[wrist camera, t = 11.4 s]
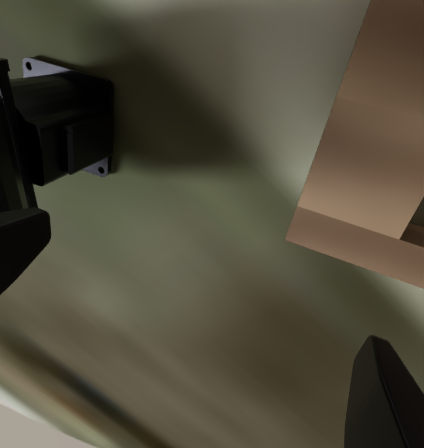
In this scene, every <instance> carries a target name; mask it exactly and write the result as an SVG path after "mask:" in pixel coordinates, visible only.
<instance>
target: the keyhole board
mask: <svg viewBox="0 0 424 448" xmlns="http://www.w3.org/2000/svg"><path fill="white" fill-rule="evenodd" d="M423 197H424V0H371V2H370V4H369V7H368V10H367V13H366V16H365V18H364V21H363V24H362V27H361V29H360V32H359V35H358V38H357V41H356V43H355V46H354V49H353V52H352V54H351V57H350V60H349V63H348V66H347V68H346V71H345V74H344V77H343V79H342V82H341V85H340V88H339V91H338V93H337V96H336V99H335V102H334V104H333V107H332V110H331V113H330V116H329V118H328V121H327V124H326V127H325V129H324V132H323V135H322V138H321V140H320V143H319V146H318V149H317V152H316V154H315V157H314V160H313V163H312V165H311V168H310V171H309V174H308V177H307V179H306V182H305V185H304V188H303V190H302V193H301V196H300V199H299V202H298V204H297V207H296V210H295V213H294V215H293V218H292V221H291V224H290V227H289V230H288V232H287V235H286V238H285V240H287V241H290V242H292V243H295V244H298V245H301V246H304V247H307V248H310V249H312V250H315V251H318V252H321V253H324V254H327V255H329V256H332V257H335V258H338V259H341V260H344V261H346V262H349V263H352V264H355V265H358V266H361V267H364V268H366V269H369V270H372V271H375V272H378V273H381V274H383V275H386V276H389V277H392V278H395V279H398V280H401V281H403V282H406V283H409V284H412V285H415V286H418V287H420V288H423V289H424V227H422V226H419V225H416V224H413V223H410V222H409V221H410V220H411V218H412V216H413V214H414V213H415V211H416V209H417V207H418V206H419V204H420V202H421V200H422V199H423Z"/></svg>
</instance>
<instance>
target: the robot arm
mask: <svg viewBox="0 0 424 448" xmlns="http://www.w3.org/2000/svg"><path fill="white" fill-rule="evenodd" d="M30 64H31V65H32V68H31V65H30ZM8 71H10V69H9V64H8V60H7V59H4V58H0V295H1V294H2V293H3V292H4V291H5V290H6V289H7V288H8V287H9V286H10V285H11V284H12V283H13V282H14V281H15V280H16V279H17V278H18V277H19V276H20V275H21V274H22V273H23V271H24V270H25V269H26V268H27V267H28V266H29V265H30V264H31V262H32V261H33V260H34V259H35V258H36V257H37V256H38V255H39V253H40V252H41V251H42V250H43V249H44V248H45V247H46V246H47V244H48V243H49V241H50V239H51V225H50V215H49V213H48V212H47V211H44V210H42V209H39V208H38V206H37V201H36V197H35V192H34V188H33V185H34V184H36V185H38V186H44V185H46V184H48V183H50V182H52V181H54V180H57V179H59V178H61V177H63V176H65V175H67V174H69V175H72V174H74V173H76V172H78V171H80V170H83V171H86V172H89V173H92V174H95V175H97V176H100V177H105V176H107V175H109V174H110V172H111V155H112V153H113V128H114V118H113V95H114V87H113V84H112V82H111V81H110V80H109V79H107V78H104V77H100V76H97V75H93V74H90V73H86V72H83V71H79V70H76V69H72V68H69V67H65V66H62V65H58V64H55V63H51V62H48V61H44V60H41V59H37V58H34V57H27V58H24V60H23V74H24V78H18V79H9V75H8ZM103 84H105V86H106V91H105V90H104V88H103ZM102 168H103V169H104V171H103V170H102ZM344 448H424V393H423V392H422V390H421V389H420V387H419V386H418V384H417V383H416V381H415V379H414V378H413V376H412V375H411V373H410V372H409V370H408V369H407V367H406V366H405V364H404V363H403V361H402V360H401V358H400V357H399V355H398V354H397V352H396V351H395V349H394V347H393V346H392V344H391V343H390V342H389V341H388V340H386V339H383V338H380V337H378V336H375V335H370V336H369V337H368V338H367V339H366V341H365V342H364V344H363V346H362V347H361V349H360V351H359V352H358V354H357V356H356V358H355V360H354V364H353V370H352V377H351V384H350V392H349V399H348V406H347V413H346V421H345V436H344Z"/></svg>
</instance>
